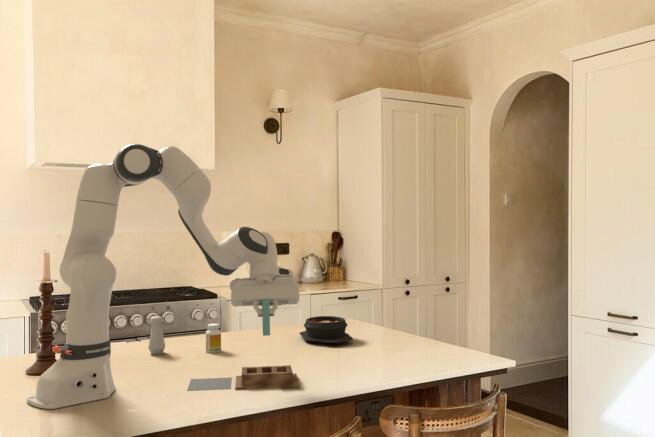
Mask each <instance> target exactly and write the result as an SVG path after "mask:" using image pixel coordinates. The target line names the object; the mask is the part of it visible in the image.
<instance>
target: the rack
mask: <svg viewBox="0 0 655 437" xmlns="http://www.w3.org/2000/svg"><path fill="white" fill-rule="evenodd" d="M300 384H301V383H300V380H299V378H298V374H297V373H293V369H292V366H291V365H290V364H288V365H268V366H267V365H266V366H264V365H263V366H244V367H241V375H235V385H234V390H235V391H240V390H261V389H262V390H263V389H264V390H265V389H280V390H286V389H287V390H289V389H291V390H292V389H300V388H301V385H300Z"/></svg>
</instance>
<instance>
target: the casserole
mask: <svg viewBox="0 0 655 437" xmlns="http://www.w3.org/2000/svg"><path fill="white" fill-rule="evenodd" d="M303 326H304V328H305V330H303V331H300V332H299V333H298V334H299V335H300V336H301V338H302V339H304V340H306V341H309V342H310V343H311V342H312V343H315V344H320V345H321V344H326V345H327V344H339V343H340V344H341V343H346V342H351V341H353V340H354V337H352V336H351V335H350V334H349V333H347V332H346V329H347V327H348V323H347V321H346V319H345V317H344V318H343V317H340V316H335V315H333V316H332V315H331V316H330V315H321V316H320V315H319V316H318V315H317V316H311V317H308V318H306V320H305V323H304V324H303Z"/></svg>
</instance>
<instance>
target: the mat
mask: <svg viewBox="0 0 655 437" xmlns="http://www.w3.org/2000/svg"><path fill="white" fill-rule="evenodd" d="M232 379H233V377H231V376H230V377H211V378H209V377H208V378H191V379H190V380H189V383H188V387H187V390H186V391H187V392H198V391H216V390H217V391H219V390H231V389H232Z"/></svg>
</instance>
